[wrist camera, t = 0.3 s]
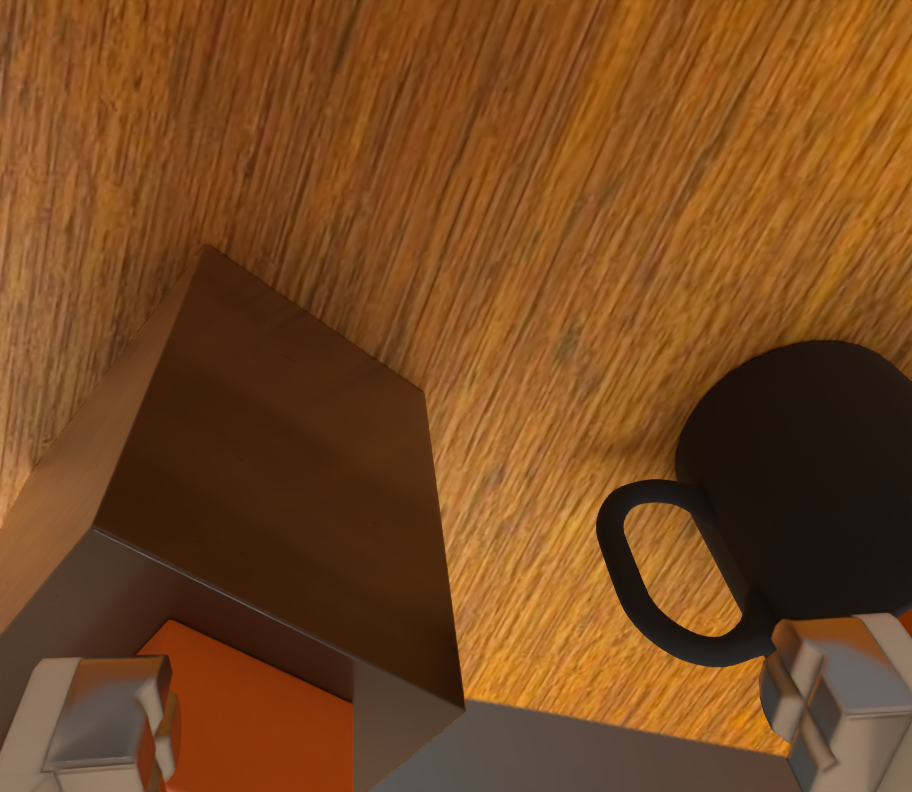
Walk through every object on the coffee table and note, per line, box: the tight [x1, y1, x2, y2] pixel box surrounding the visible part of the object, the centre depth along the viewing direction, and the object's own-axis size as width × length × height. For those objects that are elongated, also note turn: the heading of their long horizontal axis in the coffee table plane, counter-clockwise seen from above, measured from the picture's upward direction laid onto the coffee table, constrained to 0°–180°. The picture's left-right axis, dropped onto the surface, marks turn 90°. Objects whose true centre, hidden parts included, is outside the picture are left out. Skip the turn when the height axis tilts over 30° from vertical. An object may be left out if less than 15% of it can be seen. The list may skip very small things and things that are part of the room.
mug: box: [596, 341, 912, 667], centre depth 25 cm, size 8×12×10 cm
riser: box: [0, 244, 466, 792], centre depth 22 cm, size 10×8×12 cm
